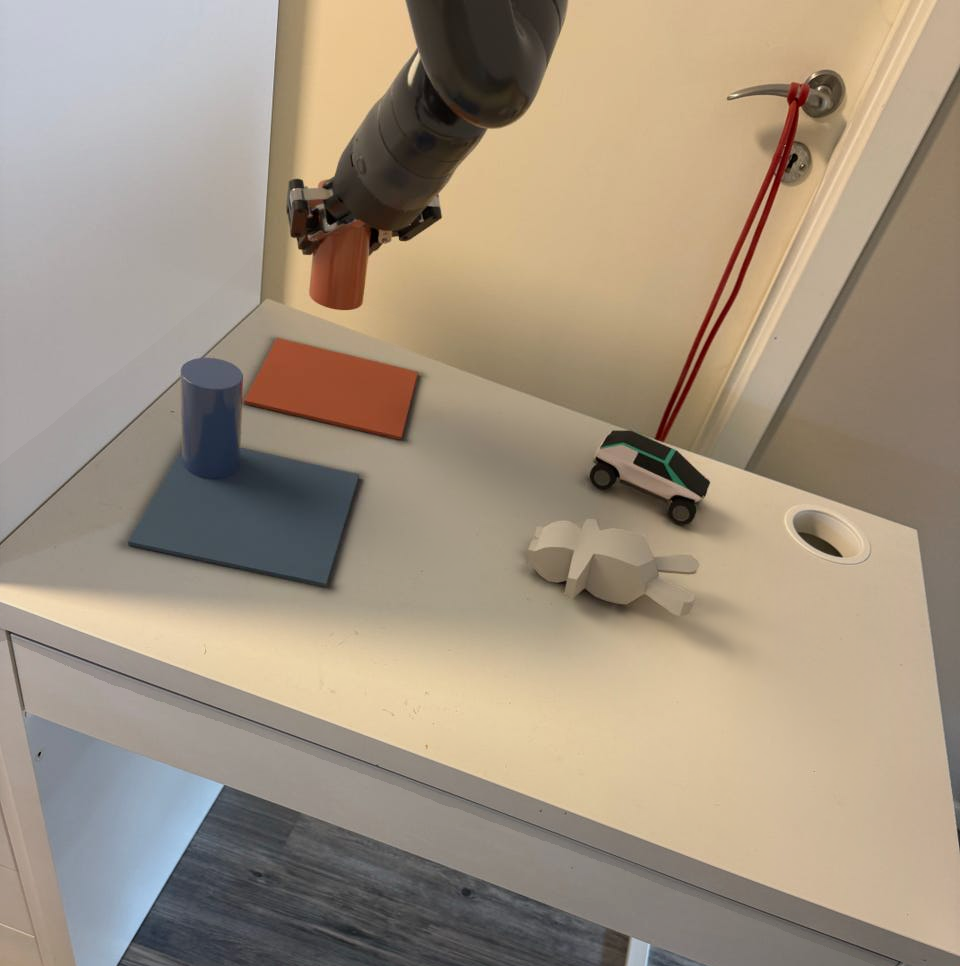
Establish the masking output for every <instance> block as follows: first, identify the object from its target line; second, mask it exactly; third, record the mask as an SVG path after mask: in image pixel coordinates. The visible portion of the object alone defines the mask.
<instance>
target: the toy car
mask: <svg viewBox="0 0 960 966" xmlns="http://www.w3.org/2000/svg"><path fill="white" fill-rule="evenodd" d="M593 459H594V460H593V461H592V463H594V465H593V466H592V467H591V469H590V472H589V480H590V482H591V484H592V485H593V486H594V487H595V488H597V489H598V490H603V491H604V490H609V489H611V488H613V486H614V485H615V484H616V482H617V481H618V483H619V484H621V485H623V486H625V487H628V488H630V489H632V490H634V491H637V492H639V493H641V494H644V495H646V496H648V497H650V498H652V499H655V500H657V501H660V502H662V503H663V504H666V505H667V504H668V503H669V502H670V503H669V504H668V507H667V515H668V518H669V519H670V521H672V522H673V523H674V524H676V525H679V526H686V525H689V524H691V523H692V522H693V521H694V519H695V518H696V515H697V511H698V510H697V507H698V506H700V503H701V501H703V500H704V499H705V498H706V496H707V494H708V489H709V487H710V486H711V485H710V484H711V481H710V478H709V477H708V476H706V475H705V474H704V473H703V472H701V471H699V470H698V469H697V468H696V467H695V466H694V465H693V464H692V463H691V462H690V461H689V460H688V459H687V458H685V456H683V454H681V453H680V452H679V451H678V450H677V449H675V448H673V447H671V446H668V445H666V444H663V443H661V442H659V441H658V440H657V441H656V440H654V439H652V438H650V437H648V436H645V435H643V434H640V433H638V432H636V431H634V430H628V429H627V430H625V429H624V430H621V429H619V430H618V429H617V430H616V429H614V430H613V429H612V430H611V431H608V432H607V434H606V435H605V437H604V438H603V440H602V441H601V443H600V445H599V446H598V447H597V446H596V448H595V451H594V453H593Z"/></svg>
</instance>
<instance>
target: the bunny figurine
mask: <svg viewBox="0 0 960 966" xmlns="http://www.w3.org/2000/svg"><path fill="white" fill-rule="evenodd" d="M525 564H527V565H528V564H529V565H531V566H532V567H533V569H534V570H535V571H536V572H537V574H538V575H539V576H540V577H541V578H543V579H544V580H546V581H547V582H550V583H556V584H558V583H562V582H566V583H565V587H564V594H563V595H564V596H567V597H569V598H571V599H574V598H575V597H576V596H578V594H580V593H581V592H582V591H583V590H586V591H587V592H589V594H591V595H592V596H593V597H595V598H598V599H600V600H602V601H604V602H608V603H613V604H618V605H619V604H620V605H628V604H630V603H632V602H633V601H635V600H637V599H639V598H640V597H642V596H643V595H646V596H647V597H649V598H650V599H652V600H653V601H654V602H656V604H658V605H660V606H661V607H663V608H664V609H666V610H667V611H668V612H670V613H671V614H673V615H675V616H678V617H687V616H688V615H690V614H691V612H692V610H693V606H694V603H695V597H694V595H693V594H692V593H691V592H689V591H688V590H686V589H683V588H682V587H680V586H677V585H675V584H672V583H671V582H668V581H666V580H665V579H662V578H660V575H659V573H663V574H665V573H666V574H678V575H686V576H687V575H688V576H689V575H695V574H696V573H697V571H698V569H699V567H700V563H699V560H698V559H697V558H695V557H694V556H693V555H689V554H678V555H676V554H675V555H663V556H662V555H661V556H654V555H653V553H652V550H651V548H650V546H649V543H648V541H647V539H646V536H645V535H643V534H640V533H638V532H635V531H632V530H628V529H624V528H615V527H612V528H611V527H610V528H606V529H600V525H599V524H598V521H597V519H596V518H586V519H585V521H584V523H583V525H582V527H580V526H578V525H577V524H576V523H575V522H573V521H570V520H566V519H564V520H558V521H553V522H552V523H550V524H549V523H548V524H547V525H546V526H540V525H537V526H536V528H535V530H534V533H533V537H532V539H531V541H530V544H529V546H528V549H527V553H526V559H525Z"/></svg>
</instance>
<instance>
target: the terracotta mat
mask: <svg viewBox="0 0 960 966" xmlns="http://www.w3.org/2000/svg"><path fill="white" fill-rule="evenodd" d="M418 374H419V371H417V370H413V369H408V368H404V367H400V366H397V365H392V364H387V363H383V362H379V361H375V360H371V359H366V358H363V357H358V356H354V355H350V354H346V353H342V352H338V351H334V350H330V349H326V348H322V347H317V346H314V345H313V346H312V345H310V344H304V343H301V342H297V341H291V340H288V339H284V338H280V337H276V339H275V341H274V343H273V344H272V347H271V349H270V351H269V352H268V355H267V356H266V358H265V360H264V362H263V364H262V366H261V368H260V369H259V371H258V374H257V375H256V377H255V378H254V381H253V383H252V385H251V386H250V388H249V390H248V393H247V394H246V396H245V398H244V399H243V404H244V405H248V406H252V407H258V408H262V409H266V410H270V411H275V412H278V413H282V414H288V415H292V416H296V417H300V418H304V419H309V420H314V421H317V422H321V423H325V424H330V425H335V426H339V427H342V428H347V429H352V430H356V431H361V432H365V433H369V434H373V435H377V436H382V437H386V438H390V439H395V440H399V441H401V440H402V438H403V434H404V431H405V426H406V422H407V417H408V414H409V410H410V408H411V407H410V406H411V403H412V398H413V394H414V392H415V391H414V390H415V386H416V382H417V378H418Z"/></svg>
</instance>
